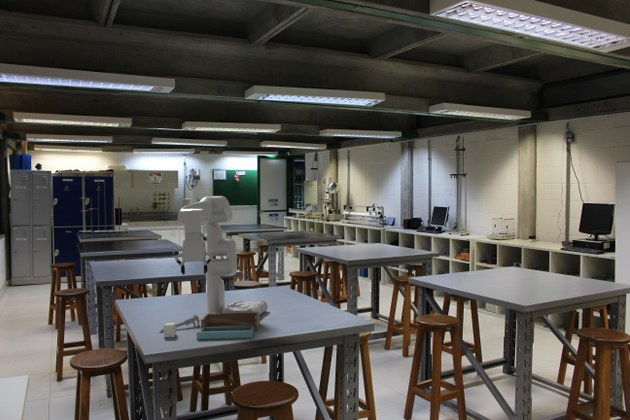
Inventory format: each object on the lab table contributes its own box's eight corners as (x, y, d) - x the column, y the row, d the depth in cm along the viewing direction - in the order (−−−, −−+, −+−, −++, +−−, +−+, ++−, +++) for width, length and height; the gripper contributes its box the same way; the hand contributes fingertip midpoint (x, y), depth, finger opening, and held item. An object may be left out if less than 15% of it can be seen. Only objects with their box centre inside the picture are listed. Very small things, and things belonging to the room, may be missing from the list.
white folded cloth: (270, 309, 287) (269, 296, 287) (255, 322, 260) (254, 307, 260) (238, 309, 291) (238, 296, 291) (220, 321, 264) (219, 307, 263)
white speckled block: (166, 335, 239) (166, 322, 238) (176, 334, 239) (176, 322, 238) (164, 338, 234) (163, 325, 234) (173, 337, 234) (173, 325, 234)
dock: (206, 325, 254) (206, 313, 254) (259, 323, 255) (259, 312, 254) (201, 331, 242) (200, 319, 242) (257, 330, 243) (256, 318, 242)
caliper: (198, 325, 255) (198, 313, 255) (199, 326, 254) (199, 314, 254) (158, 332, 244) (158, 320, 244) (159, 333, 243) (158, 320, 243)
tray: (202, 332, 241) (202, 325, 241) (255, 330, 241) (255, 324, 241) (196, 339, 229) (196, 332, 229) (252, 337, 230) (252, 330, 229)
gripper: (213, 235, 232) (214, 272, 232) (175, 236, 230) (176, 273, 231) (211, 236, 224) (212, 274, 225) (172, 238, 223) (173, 276, 223)
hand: (194, 274), depth 228 cm, fingers open, 9 cm apart
